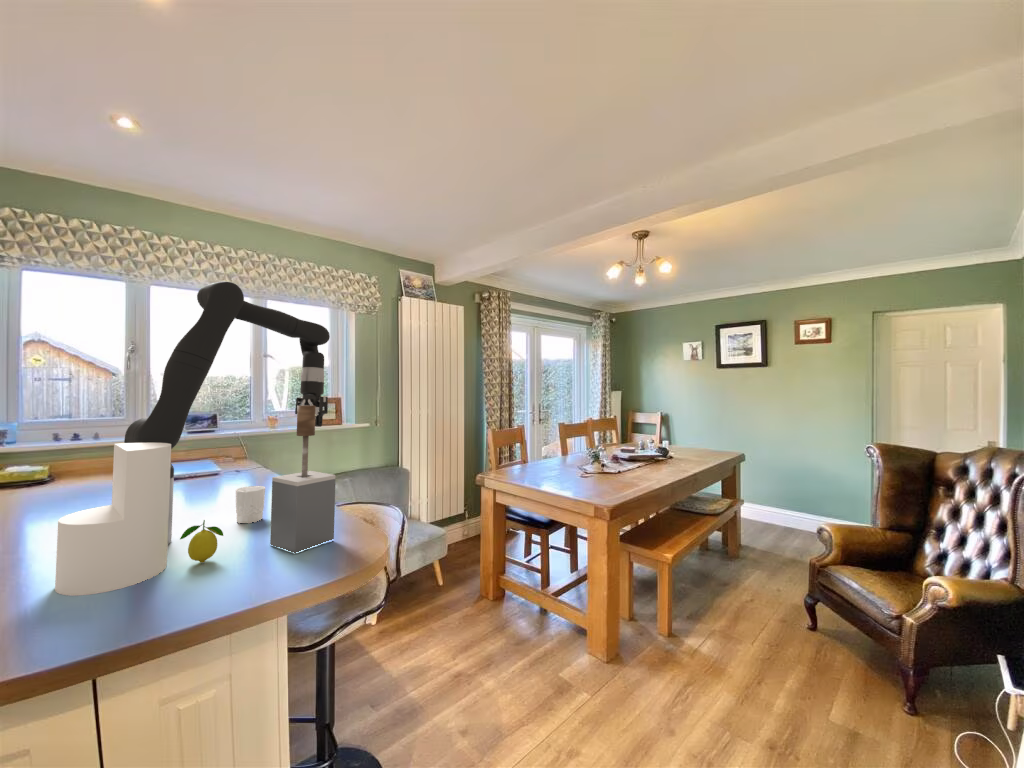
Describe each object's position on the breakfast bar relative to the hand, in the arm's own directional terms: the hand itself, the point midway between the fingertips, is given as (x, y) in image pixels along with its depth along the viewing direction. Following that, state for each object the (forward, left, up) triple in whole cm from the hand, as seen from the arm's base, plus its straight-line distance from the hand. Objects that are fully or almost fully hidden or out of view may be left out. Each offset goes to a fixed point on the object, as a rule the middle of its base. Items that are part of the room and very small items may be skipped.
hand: (310, 426), depth 144 cm
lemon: (-42, -22, -29) cm, 55 cm away
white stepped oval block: (-55, -14, -29) cm, 63 cm away
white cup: (-19, +2, -29) cm, 34 cm away
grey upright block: (-22, -30, -29) cm, 47 cm away
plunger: (-22, -30, -19) cm, 42 cm away
